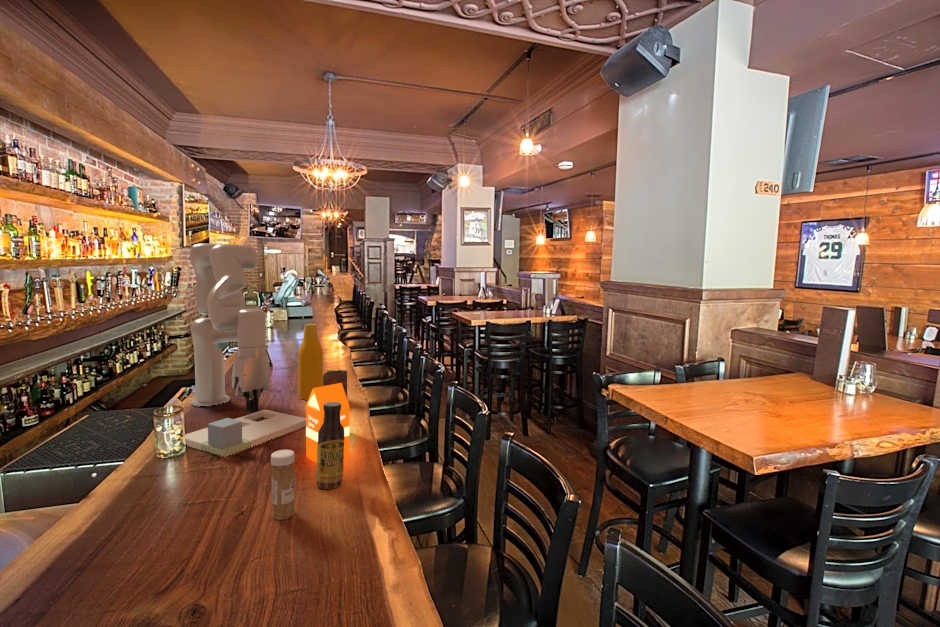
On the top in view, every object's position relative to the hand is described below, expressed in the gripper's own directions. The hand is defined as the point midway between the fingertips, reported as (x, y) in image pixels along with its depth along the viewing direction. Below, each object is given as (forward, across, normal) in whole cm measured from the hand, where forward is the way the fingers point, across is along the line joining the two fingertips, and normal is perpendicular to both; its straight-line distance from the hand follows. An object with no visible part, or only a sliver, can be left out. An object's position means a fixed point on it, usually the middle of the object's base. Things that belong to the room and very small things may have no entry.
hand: (252, 411), depth 138 cm
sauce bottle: (+7, +11, +41) cm, 43 cm away
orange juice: (+8, -1, +29) cm, 30 cm away
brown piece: (+8, -15, +19) cm, 25 cm away
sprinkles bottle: (+7, +26, +42) cm, 50 cm away
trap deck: (+8, -2, -4) cm, 9 cm away
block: (+6, +10, +2) cm, 12 cm away
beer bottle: (+9, -41, -17) cm, 45 cm away
